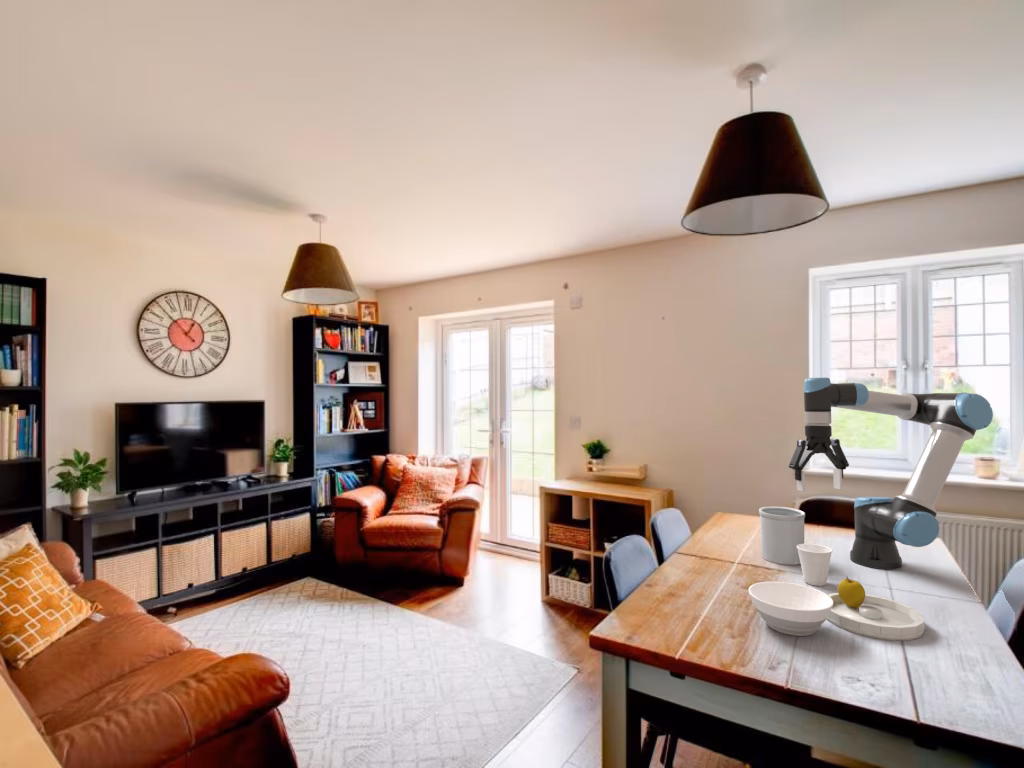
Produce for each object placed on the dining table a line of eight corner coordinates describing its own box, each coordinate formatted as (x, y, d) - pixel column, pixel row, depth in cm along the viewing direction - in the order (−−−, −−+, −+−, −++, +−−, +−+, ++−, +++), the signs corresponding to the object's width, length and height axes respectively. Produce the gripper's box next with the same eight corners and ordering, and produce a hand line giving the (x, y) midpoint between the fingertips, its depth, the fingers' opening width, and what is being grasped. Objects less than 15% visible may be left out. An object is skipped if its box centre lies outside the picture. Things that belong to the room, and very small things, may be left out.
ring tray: (871, 601, 150) (871, 589, 150) (947, 636, 128) (947, 623, 128) (803, 607, 146) (802, 595, 146) (869, 644, 124) (869, 631, 125)
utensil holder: (810, 567, 179) (809, 516, 180) (763, 563, 184) (761, 514, 184) (801, 554, 193) (800, 507, 193) (757, 551, 198) (756, 505, 198)
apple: (838, 600, 148) (838, 572, 148) (866, 605, 144) (865, 576, 144) (837, 608, 143) (836, 578, 143) (865, 613, 139) (864, 583, 139)
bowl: (834, 652, 121) (833, 616, 121) (743, 633, 131) (743, 600, 131) (834, 621, 137) (833, 589, 138) (754, 606, 148) (753, 576, 148)
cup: (838, 589, 159) (837, 553, 159) (803, 587, 161) (802, 552, 161) (826, 578, 169) (825, 544, 169) (792, 576, 171) (792, 542, 171)
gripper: (842, 423, 175) (844, 486, 175) (775, 424, 171) (777, 489, 171) (860, 424, 168) (862, 490, 168) (791, 426, 164) (793, 493, 163)
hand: (819, 489), depth 169 cm, fingers open, 13 cm apart
